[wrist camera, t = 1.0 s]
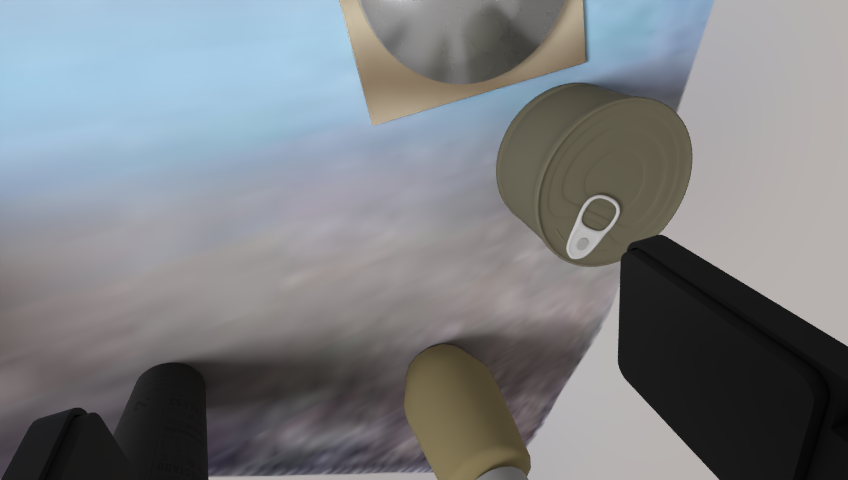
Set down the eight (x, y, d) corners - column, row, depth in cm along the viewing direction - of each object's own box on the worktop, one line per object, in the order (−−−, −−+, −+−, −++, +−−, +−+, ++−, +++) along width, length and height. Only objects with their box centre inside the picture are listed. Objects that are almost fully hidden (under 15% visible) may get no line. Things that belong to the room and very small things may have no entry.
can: (656, 119, 41) (724, 141, 35) (578, 245, 45) (628, 285, 39) (545, 50, 36) (602, 64, 30) (466, 200, 39) (504, 238, 33)
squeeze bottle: (391, 410, 46) (461, 623, 31) (395, 338, 43) (476, 536, 28) (473, 397, 49) (576, 588, 33) (483, 326, 45) (604, 504, 30)
